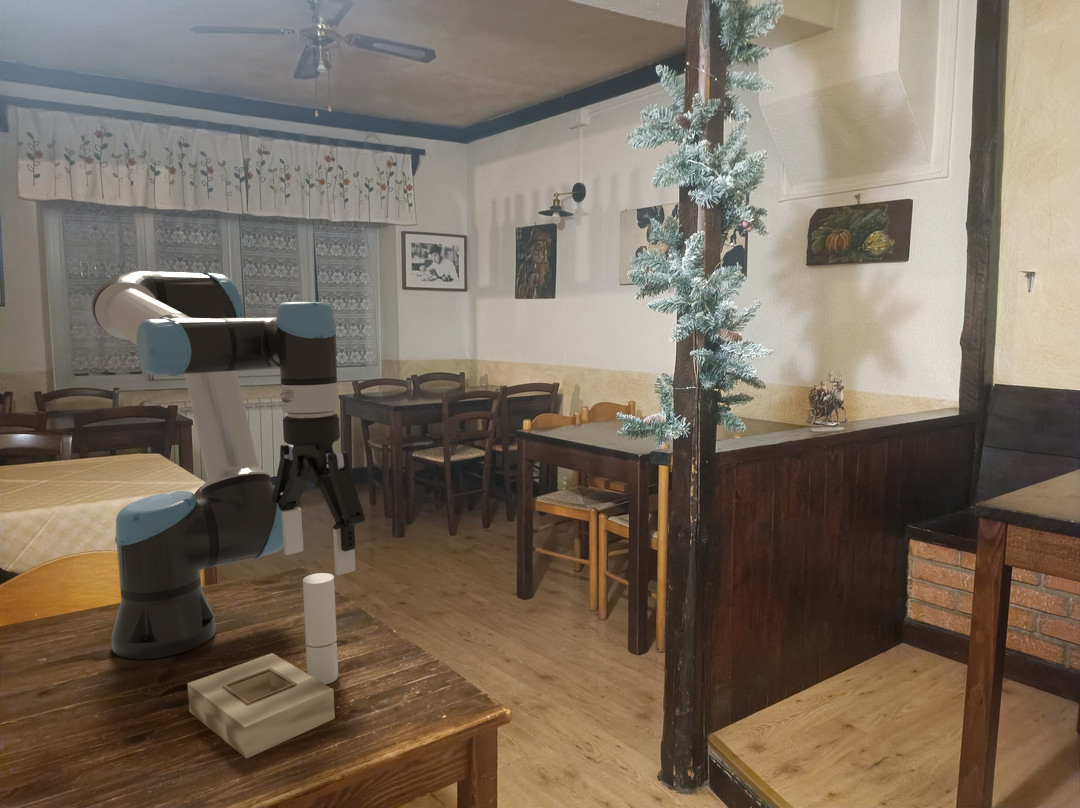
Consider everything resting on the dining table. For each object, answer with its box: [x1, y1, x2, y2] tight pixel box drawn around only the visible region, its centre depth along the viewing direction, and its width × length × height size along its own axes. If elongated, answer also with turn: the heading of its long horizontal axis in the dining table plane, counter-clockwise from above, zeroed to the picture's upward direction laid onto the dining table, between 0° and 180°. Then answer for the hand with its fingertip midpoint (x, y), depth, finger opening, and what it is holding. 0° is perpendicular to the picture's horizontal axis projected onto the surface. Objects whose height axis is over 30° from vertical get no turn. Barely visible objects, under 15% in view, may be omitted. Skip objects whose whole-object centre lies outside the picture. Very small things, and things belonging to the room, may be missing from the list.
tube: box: [302, 572, 339, 685], centre depth 109 cm, size 4×4×15 cm
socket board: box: [187, 652, 336, 760], centre depth 100 cm, size 16×12×4 cm
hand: (318, 562), depth 107 cm, fingers open, 13 cm apart
